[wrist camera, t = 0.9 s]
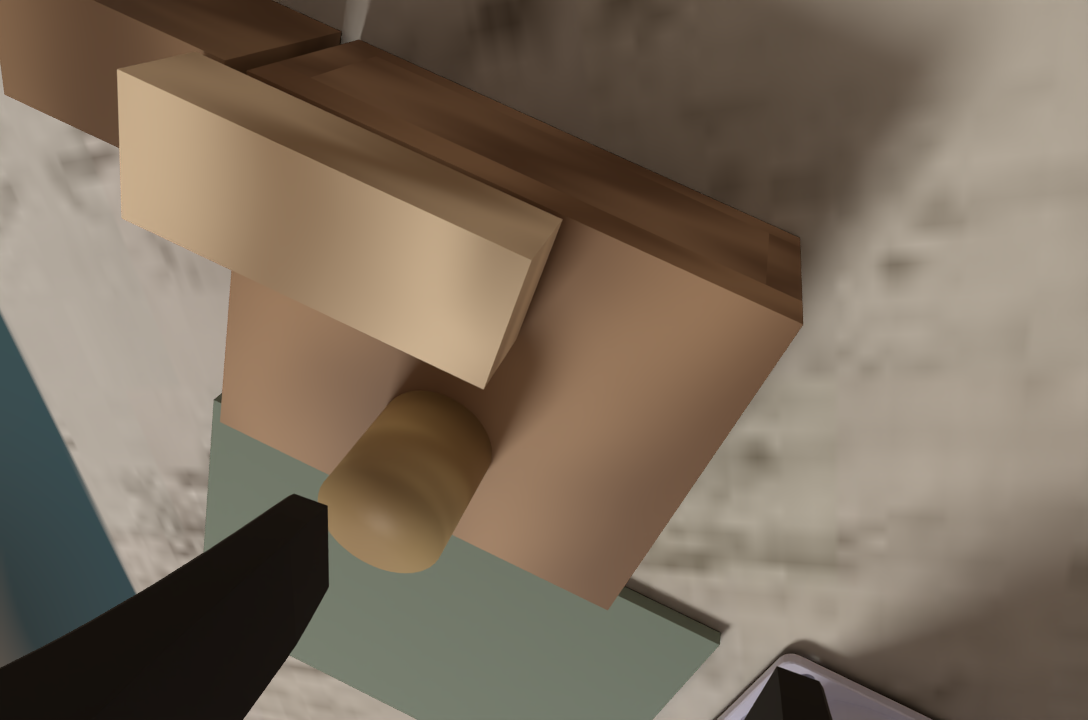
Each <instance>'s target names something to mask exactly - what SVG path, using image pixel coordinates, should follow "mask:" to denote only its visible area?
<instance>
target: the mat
mask: <svg viewBox="0 0 1088 720" xmlns="http://www.w3.org/2000/svg"><path fill="white" fill-rule="evenodd" d="M221 402H222V393H221V394H220V395H219V396H218V397H217V398H215V399H214V404H213V419H212V434H211V449H210V464H209V479H208V494H207V509H206V524H205V539H204V552H205V551H207V550H208V549H210V548H211V547H213V546H215V545H216V544H218V543H219V542H221V541H222V540H224V539H225V538H227V537H228V536H230V535H231V534H233V533H234V532H236V531H237V530H239V529H240V528H242V527H243V526H245V525H246V524H248V523H249V522H251V521H252V520H254V519H255V518H256V517H258V516H259V515H261V514H262V513H264V512H265V511H267V510H268V509H270V508H271V507H273V506H274V505H276V504H277V503H279V502H280V501H282V500H283V499H285V498H286V497H288V496H290V495H292V494H297V495H300V496H302V497H305V498H308V499H311V500H314V501H316V502H318V493H319V490H320V487H321V485H322V484H323V482H324V481H325V480H326V479H327V477H328V476H329V475H328V474H326V473H324V472H322V471H320V470H318V469H316V468H314V467H312V466H310V465H308V464H305V463H303V462H301V461H299V460H297V459H295V458H293V457H291V456H289V455H287V454H285V453H283V452H281V451H279V450H277V449H275V448H273V447H270V446H268V445H266V444H264V443H262V442H260V441H258V440H256V439H254V438H252V437H250V436H248V435H246V434H244V433H242V432H240V431H238V430H236V429H233V428H231V427H229V426H227V425H225V424H223V423H221V422H220V415H221ZM328 549H329V588H328V590H327V592H326V593H325V595H324V597H323V599H322V601H321V603H320V604H319V606H318V608H317V610H316V612H315V613H314V615H313V617H312V619H311V621H310V622H309V624H308V626H307V628H306V629H305V631H304V633H303V634H302V636H301V638H300V640H299V641H298V643H297V645H296V646H295V648H294V649H293V651H292V652H291V653H290V656H292V657H294V658H296V659H298V660H300V661H302V662H304V663H306V664H308V665H310V666H312V667H314V668H316V669H318V670H320V671H322V672H324V673H326V674H328V675H330V676H332V677H334V678H336V679H338V680H340V681H342V682H344V683H346V684H347V685H349V686H351V687H353V688H355V689H357V690H359V691H361V692H363V693H365V694H367V695H369V696H371V697H373V698H375V699H377V700H379V701H381V702H383V703H385V704H387V705H389V706H391V707H393V708H395V709H397V710H399V711H401V712H403V713H405V714H407V715H409V716H411V717H413V718H415V719H417V720H653V719H654V717H655V716H656V715H657V714H658V713H659V712H660V711H661V710H662V709H663V707H664V706H665V705H666V704H667V703H668V702H669V701H670V700H671V699H672V697H673V696H674V695H675V694H676V693H677V692H678V691H679V690H680V689H681V687H682V686H683V685H684V684H685V683H686V682H687V681H688V680H689V678H690V677H691V676H692V675H693V674H694V673H695V672H696V671H697V670H698V668H699V667H700V666H701V665H702V664H703V663H704V662H705V661H706V660H707V658H708V657H709V656H710V655H711V654H712V653H713V652H714V651H715V650H716V648H717V647H718V646H719V645H720V636H721V633H719V632H717V631H715V630H713V629H711V628H709V627H707V626H705V625H703V624H701V623H699V622H697V621H695V620H692V619H690V618H688V617H686V616H684V615H682V614H680V613H678V612H676V611H674V610H672V609H670V608H668V607H666V606H664V605H661V604H659V603H657V602H655V601H653V600H651V599H649V598H647V597H645V596H643V595H641V594H639V593H637V592H635V591H633V590H630V589H628V588H626V587H624V588H623V589H622V590H621V592H620V593H619V595H618V596H617V598H616V599H615V601H614V602H613V604H612V605H611V607H610V608H609V609H608V610H606V609H604V608H602V607H600V606H598V605H595V604H593V603H591V602H589V601H587V600H585V599H583V598H581V597H579V596H577V595H575V594H573V593H571V592H569V591H567V590H565V589H563V588H560V587H558V586H556V585H554V584H552V583H550V582H548V581H546V580H544V579H542V578H540V577H538V576H536V575H534V574H532V573H530V572H528V571H526V570H523V569H521V568H519V567H517V566H515V565H513V564H511V563H509V562H507V561H505V560H503V559H501V558H499V557H497V556H495V555H493V554H491V553H488V552H486V551H484V550H482V549H480V548H478V547H476V546H474V545H472V544H470V543H468V542H466V541H464V540H462V539H460V538H458V537H456V536H454V535H452V536H451V537H450V539H449V541H448V543H447V545H446V546H445V548H444V550H443V552H442V554H441V556H440V557H439V559H438V560H437V561H436V563H435V564H433V565H432V566H431V567H429V568H427V569H426V570H423V571H420V572H415V573H396V572H390V571H386V570H382V569H379V568H377V567H374V566H372V565H370V564H367V563H365V562H364V561H362V560H360V559H358V558H357V557H355V556H354V555H352V554H351V553H350V552H348V551H347V550H346V549H345V548H344V547H343V546H341V545H340V544H339V543H338V542H337V541H336V539H335V538H334V537H333V536H332V535H331V533H330V532H329V531H328Z"/></svg>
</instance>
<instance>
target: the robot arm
mask: <svg viewBox="0 0 1088 720" xmlns="http://www.w3.org/2000/svg"><path fill="white" fill-rule="evenodd" d="M328 588H329V549H328V505H325V504H322V503H319V502H316V501H314V500H311V499H308V498H305V497H302V496H300V495H297V494H292V495H290V496H288V497H286V498H285V499H283V500H282V501H280V502H279V503H277V504H276V505H274V506H273V507H271V508H270V509H268V510H267V511H265V512H264V513H262V514H261V515H259V516H258V517H256V518H255V519H254V520H252V521H251V522H249V523H248V524H246V525H245V526H243V527H242V528H240V529H239V530H237V531H236V532H234V533H233V534H231V535H230V536H228V537H227V538H225V539H224V540H222V541H221V542H219V543H218V544H216V545H215V546H213V547H211V548H210V549H208V550H207V551H205V552H204V553H202V554H201V555H199V556H197V557H196V558H194V559H193V560H191V561H190V562H188V563H186V564H185V565H183V566H182V567H180V568H178V569H177V570H175V571H174V572H172V573H171V574H169V575H167V576H166V577H164V578H163V579H161V580H159V581H158V582H156V583H155V584H153V585H151V586H150V587H148V588H146V589H145V590H143V591H141V592H140V593H138V594H136V595H134V596H133V597H131V598H129V599H127V600H126V601H124V602H122V603H121V604H119V605H117V606H115V607H114V608H112V609H110V610H108V611H107V612H105V613H103V614H102V615H100V616H98V617H96V618H95V619H93V620H91V621H89V622H88V623H86V624H84V625H82V626H80V627H78V628H77V629H75V630H73V631H71V632H69V633H67V634H66V635H64V636H62V637H60V638H58V639H56V640H54V641H52V642H50V643H49V644H47V645H45V646H43V647H41V648H39V649H37V650H35V651H33V652H31V653H29V654H27V655H25V656H23V657H21V658H19V659H17V660H15V661H13V662H11V663H9V664H7V665H5V666H3V667H1V668H0V720H243V719H244V718H245V716H246V715H247V713H248V712H249V711H250V709H251V708H252V706H253V705H254V704H255V702H256V701H257V700H258V698H259V697H260V695H261V694H262V693H263V691H264V690H265V689H266V687H267V686H268V684H269V683H270V682H271V680H272V679H273V677H274V676H275V675H276V673H277V672H278V670H279V669H280V668H281V666H282V665H283V663H284V662H285V661H286V659H287V658H288V656H289V655H290V653H291V652H292V651H293V649H294V648H295V646H296V645H297V643H298V641H299V640H300V638H301V636H302V634H303V633H304V631H305V629H306V628H307V626H308V624H309V622H310V621H311V619H312V617H313V615H314V613H315V612H316V610H317V608H318V606H319V604H320V603H321V601H322V599H323V597H324V595H325V593H326V592H327V590H328ZM717 720H932V719H930V718H928V717H926V716H924V715H922V714H920V713H918V712H916V711H914V710H912V709H909V708H907V707H905V706H903V705H901V704H899V703H897V702H895V701H893V700H891V699H889V698H887V697H885V696H882V695H880V694H878V693H876V692H874V691H872V690H870V689H868V688H866V687H864V686H862V685H860V684H858V683H856V682H853V681H851V680H849V679H847V678H845V677H843V676H841V675H839V674H837V673H835V672H833V671H831V670H829V669H827V668H824V667H822V666H820V665H818V664H816V663H814V662H812V661H810V660H808V659H806V658H804V657H802V656H799V655H796V654H785V655H783V656H781V657H780V658H779V659H778V660H777V661H776V662H775V663H774V664H773V665H772V666H771V667H769V668H768V669H767V670H766V671H765V672H764V673H763V674H762V675H761V676H760V677H759V678H758V679H757V680H756V681H755V682H754V683H753V684H752V685H751V686H750V687H749V688H748V689H747V690H746V691H745V692H744V693H743V694H742V695H741V696H740V697H739V698H738V699H737V700H736V701H735V702H734V703H733V704H732V705H731V706H730V707H729V708H728V709H727V710H726V711H725V712H724V713H723V714H722V715H721V716H720V717H719V718H718V719H717Z"/></svg>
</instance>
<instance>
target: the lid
mask: <svg viewBox="0 0 1088 720" xmlns="http://www.w3.org/2000/svg"><path fill="white" fill-rule="evenodd" d="M246 75H248V76H250V77H252V78H254V79H256V80H259V81H261V82H263V83H265V84H267V85H270V86H272V87H274V88H276V89H278V90H280V91H283V92H285V93H287V94H289V95H291V96H294V97H296V98H298V99H300V100H302V101H305V102H307V103H309V104H311V105H313V106H316V107H318V108H320V109H322V110H324V111H326V112H329V113H331V114H333V115H335V116H337V117H340V118H342V119H344V120H346V121H348V122H351V123H353V124H355V125H357V126H359V127H361V128H364V129H366V130H368V131H370V132H372V133H375V134H377V135H379V136H381V137H383V138H386V139H388V140H390V141H392V142H394V143H396V144H399V145H401V146H403V147H405V148H407V149H410V150H412V151H414V152H416V153H418V154H421V155H423V156H425V157H427V158H429V159H431V160H434V161H436V162H438V163H440V164H442V165H445V166H447V167H449V168H451V169H453V170H456V171H458V172H460V173H462V174H464V175H466V176H469V177H471V178H473V179H475V180H477V181H480V182H482V183H484V184H486V185H488V186H491V187H493V188H495V189H497V190H499V191H502V192H504V193H506V194H508V195H510V196H512V197H515V198H517V199H519V200H521V201H523V202H526V203H528V204H530V205H532V206H534V207H537V208H539V209H541V210H543V211H545V212H547V213H550V214H552V215H554V216H556V217H558V218H561V219H563V220H562V222H561V225H560V228H559V230H558V233H557V235H556V238H555V241H554V243H553V246H552V248H551V251H550V253H549V256H548V259H547V261H546V264H545V266H544V269H543V272H542V274H541V277H540V279H539V282H538V284H537V287H536V290H535V292H534V295H533V297H532V300H531V303H530V305H529V308H528V310H527V313H526V315H525V318H524V321H523V323H522V326H521V328H520V331H519V334H518V336H517V339H516V341H515V342H514V344H513V345H512V347H511V348H510V350H509V351H508V353H507V354H506V356H505V357H504V359H503V361H502V362H501V364H500V365H499V367H498V368H497V370H496V371H495V373H494V374H493V376H492V377H491V379H490V380H489V382H488V384H487V385H486V387H485V388H484V390H483V389H481V388H479V387H477V386H475V385H473V384H471V383H469V382H467V381H464V380H462V379H460V378H458V377H456V376H454V375H452V374H450V373H448V372H445V371H443V370H441V369H439V368H437V367H435V366H433V365H431V364H429V363H426V362H424V361H422V360H420V359H418V358H416V357H414V356H412V355H410V354H407V353H405V352H403V351H401V350H399V349H397V348H395V347H393V346H391V345H388V344H386V343H384V342H382V341H380V340H378V339H376V338H374V337H371V336H369V335H367V334H365V333H363V332H361V331H359V330H357V329H355V328H352V327H350V326H348V325H346V324H344V323H342V322H340V321H338V320H336V319H333V318H331V317H329V316H327V315H325V314H323V313H321V312H319V311H317V310H314V309H312V308H310V307H308V306H306V305H304V304H302V303H300V302H298V301H295V300H293V299H291V298H289V297H287V296H285V295H283V294H281V293H279V292H276V291H274V290H272V289H270V288H268V287H266V286H264V285H262V284H260V283H257V282H255V281H253V280H251V279H249V278H247V277H245V276H243V275H241V274H238V273H236V272H234V271H231V284H230V297H229V310H228V323H227V336H226V350H225V363H224V376H223V389H222V402H221V415H220V422H221V423H223V424H225V425H227V426H229V427H231V428H233V429H236V430H238V431H240V432H242V433H244V434H246V435H248V436H250V437H252V438H254V439H256V440H258V441H260V442H262V443H264V444H266V445H268V446H270V447H273V448H275V449H277V450H279V451H281V452H283V453H285V454H287V455H289V456H291V457H293V458H295V459H297V460H299V461H301V462H303V463H305V464H308V465H310V466H312V467H314V468H316V469H318V470H320V471H322V472H324V473H326V474H328V475H329V476H328V477H327V479H326V480H325V481H324V482H323V484H322V485H321V487H320V490H319V493H318V502H319V503H322V504H325V505H328V531H329V532H330V533H331V535H332V536H333V537H334V538H335V539H336V541H337V542H338V543H339V544H340V545H341V546H343V547H344V548H345V549H346V550H347V551H348V552H350V553H351V554H352V555H354V556H355V557H357V558H358V559H360V560H362V561H364V562H365V563H367V564H370V565H372V566H374V567H377V568H379V569H382V570H386V571H390V572H396V573H415V572H420V571H423V570H426V569H427V568H429V567H431V566H432V565H433V564H435V563H436V561H437V560H438V559H439V557H440V556H441V554H442V552H443V550H444V548H445V546H446V545H447V543H448V541H449V539H450V537H451V536H452V535H454V536H456V537H458V538H460V539H462V540H464V541H466V542H468V543H470V544H472V545H474V546H476V547H478V548H480V549H482V550H484V551H486V552H488V553H491V554H493V555H495V556H497V557H499V558H501V559H503V560H505V561H507V562H509V563H511V564H513V565H515V566H517V567H519V568H521V569H523V570H526V571H528V572H530V573H532V574H534V575H536V576H538V577H540V578H542V579H544V580H546V581H548V582H550V583H552V584H554V585H556V586H558V587H560V588H563V589H565V590H567V591H569V592H571V593H573V594H575V595H577V596H579V597H581V598H583V599H585V600H587V601H589V602H591V603H593V604H595V605H598V606H600V607H602V608H604V609H606V610H608V609H609V608H610V607H611V605H612V604H613V602H614V601H615V599H616V598H617V596H618V595H619V593H620V592H621V590H622V589H623V588H624V586H625V585H626V583H627V582H628V580H629V579H630V577H631V576H632V574H633V573H634V571H635V570H636V568H637V567H638V566H639V564H640V563H641V561H642V560H643V558H644V557H645V555H646V554H647V552H648V551H649V549H650V548H651V547H652V545H653V544H654V542H655V541H656V539H657V538H658V536H659V535H660V533H661V532H662V530H663V529H664V528H665V526H666V525H667V523H668V522H669V520H670V519H671V517H672V516H673V514H674V513H675V511H676V510H677V508H678V507H679V506H680V504H681V503H682V501H683V500H684V498H685V497H686V495H687V494H688V492H689V491H690V489H691V488H692V487H693V485H694V484H695V482H696V481H697V479H698V478H699V476H700V475H701V473H702V472H703V470H704V469H705V467H706V466H707V465H708V463H709V462H710V460H711V459H712V457H713V456H714V454H715V453H716V451H717V450H718V448H719V447H720V446H721V444H722V443H723V441H724V440H725V438H726V437H727V435H728V434H729V432H730V431H731V429H732V428H733V427H734V425H735V424H736V422H737V421H738V419H739V418H740V416H741V415H742V413H743V412H744V410H745V409H746V407H747V406H748V405H749V403H750V402H751V400H752V399H753V397H754V396H755V394H756V393H757V391H758V390H759V388H760V387H761V386H762V384H763V383H764V381H765V380H766V378H767V377H768V375H769V374H770V372H771V371H772V369H773V368H774V366H775V365H776V364H777V362H778V361H779V359H780V358H781V356H782V355H783V353H784V352H785V350H786V349H787V347H788V346H789V345H790V343H791V342H792V340H793V339H794V337H795V336H796V334H797V333H798V331H799V330H800V328H801V327H802V326H803V305H802V301H800V300H798V299H796V298H794V297H791V296H789V295H787V294H785V293H783V292H781V291H778V290H776V289H774V288H772V287H770V286H767V285H765V284H763V283H761V282H759V281H756V280H754V279H752V278H750V277H748V276H745V275H743V274H741V273H739V272H737V271H734V270H732V269H730V268H728V267H726V266H723V265H721V264H719V263H717V262H715V261H712V260H710V259H708V258H706V257H704V256H701V255H699V254H697V253H695V252H693V251H690V250H688V249H686V248H684V247H682V246H679V245H677V244H675V243H673V242H671V241H668V240H666V239H664V238H662V237H660V236H657V235H655V234H653V233H651V232H649V231H646V230H644V229H642V228H640V227H638V226H635V225H633V224H631V223H629V222H627V221H624V220H622V219H620V218H618V217H616V216H613V215H611V214H609V213H607V212H605V211H602V210H600V209H598V208H596V207H594V206H591V205H589V204H587V203H585V202H583V201H580V200H578V199H576V198H574V197H572V196H569V195H567V194H565V193H563V192H561V191H558V190H556V189H554V188H552V187H550V186H547V185H545V184H543V183H541V182H539V181H536V180H534V179H532V178H530V177H528V176H525V175H523V174H521V173H519V172H517V171H514V170H512V169H510V168H508V167H506V166H503V165H501V164H499V163H497V162H495V161H493V160H490V159H488V158H486V157H484V156H482V155H479V154H477V153H475V152H473V151H471V150H468V149H466V148H464V147H462V146H460V145H457V144H455V143H453V142H451V141H449V140H446V139H444V138H442V137H440V136H438V135H435V134H433V133H431V132H429V131H427V130H424V129H422V128H420V127H418V126H416V125H413V124H411V123H409V122H407V121H405V120H402V119H400V118H398V117H396V116H394V115H391V114H389V113H387V112H385V111H383V110H380V109H378V108H376V107H374V106H372V105H369V104H367V103H365V102H363V101H361V100H358V99H356V98H354V97H352V96H350V95H347V94H345V93H343V92H341V91H339V90H336V89H334V88H332V87H330V86H328V85H325V84H323V83H321V82H319V81H317V80H314V79H312V78H310V77H308V76H306V75H303V74H301V73H299V72H297V71H295V70H292V69H290V68H288V67H286V66H284V65H281V64H279V63H277V62H276V63H272V64H268V65H265V66H261V67H257V68H254V69H250V70H247V74H246Z"/></svg>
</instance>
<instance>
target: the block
mask: <svg viewBox="0 0 1088 720" xmlns="http://www.w3.org/2000/svg"><path fill="white" fill-rule="evenodd" d="M117 87H118V118H119V150H120V181H121V213H122V219H124V220H126V221H129V222H131V223H133V224H135V225H137V226H139V227H141V228H143V229H145V230H148V231H150V232H152V233H154V234H156V235H158V236H160V237H162V238H164V239H167V240H169V241H171V242H173V243H175V244H177V245H179V246H181V247H184V248H186V249H188V250H190V251H192V252H194V253H196V254H198V255H200V256H203V257H205V258H207V259H209V260H211V261H213V262H215V263H217V264H219V265H222V266H224V267H226V268H228V269H230V270H232V271H234V272H236V273H238V274H241V275H243V276H245V277H247V278H249V279H251V280H253V281H255V282H257V283H260V284H262V285H264V286H266V287H268V288H270V289H272V290H274V291H276V292H279V293H281V294H283V295H285V296H287V297H289V298H291V299H293V300H295V301H298V302H300V303H302V304H304V305H306V306H308V307H310V308H312V309H314V310H317V311H319V312H321V313H323V314H325V315H327V316H329V317H331V318H333V319H336V320H338V321H340V322H342V323H344V324H346V325H348V326H350V327H352V328H355V329H357V330H359V331H361V332H363V333H365V334H367V335H369V336H371V337H374V338H376V339H378V340H380V341H382V342H384V343H386V344H388V345H391V346H393V347H395V348H397V349H399V350H401V351H403V352H405V353H407V354H410V355H412V356H414V357H416V358H418V359H420V360H422V361H424V362H426V363H429V364H431V365H433V366H435V367H437V368H439V369H441V370H443V371H445V372H448V373H450V374H452V375H454V376H456V377H458V378H460V379H462V380H464V381H467V382H469V383H471V384H473V385H475V386H477V387H479V388H481V389H483V390H484V388H485V387H486V385H487V384H488V382H489V380H490V379H491V377H492V376H493V374H494V373H495V371H496V370H497V368H498V367H499V365H500V364H501V362H502V361H503V359H504V357H505V356H506V354H507V353H508V351H509V350H510V348H511V347H512V345H513V344H514V342H515V341H516V339H517V336H518V334H519V331H520V328H521V326H522V323H523V321H524V318H525V315H526V313H527V310H528V308H529V305H530V303H531V300H532V297H533V295H534V292H535V290H536V287H537V284H538V282H539V279H540V277H541V274H542V272H543V269H544V266H545V264H546V261H547V259H548V256H549V253H550V251H551V248H552V246H553V243H554V241H555V238H556V235H557V233H558V230H559V228H560V225H561V222H562V220H563V219H561V218H558V217H556V216H554V215H552V214H550V213H547V212H545V211H543V210H541V209H539V208H537V207H534V206H532V205H530V204H528V203H526V202H523V201H521V200H519V199H517V198H515V197H512V196H510V195H508V194H506V193H504V192H502V191H499V190H497V189H495V188H493V187H491V186H488V185H486V184H484V183H482V182H480V181H477V180H475V179H473V178H471V177H469V176H466V175H464V174H462V173H460V172H458V171H456V170H453V169H451V168H449V167H447V166H445V165H442V164H440V163H438V162H436V161H434V160H431V159H429V158H427V157H425V156H423V155H421V154H418V153H416V152H414V151H412V150H410V149H407V148H405V147H403V146H401V145H399V144H396V143H394V142H392V141H390V140H388V139H386V138H383V137H381V136H379V135H377V134H375V133H372V132H370V131H368V130H366V129H364V128H361V127H359V126H357V125H355V124H353V123H351V122H348V121H346V120H344V119H342V118H340V117H337V116H335V115H333V114H331V113H329V112H326V111H324V110H322V109H320V108H318V107H316V106H313V105H311V104H309V103H307V102H305V101H302V100H300V99H298V98H296V97H294V96H291V95H289V94H287V93H285V92H283V91H280V90H278V89H276V88H274V87H272V86H270V85H267V84H265V83H263V82H261V81H259V80H256V79H254V78H252V77H250V76H248V75H245V74H243V73H241V72H239V71H237V70H235V69H232V68H230V67H228V66H226V65H224V64H221V63H219V62H217V61H215V60H213V59H210V58H208V57H206V56H204V55H202V54H200V53H197V52H192V53H188V54H183V55H178V56H174V57H169V58H165V59H160V60H156V61H151V62H146V63H142V64H137V65H133V66H128V67H124V68H119V69H117Z"/></svg>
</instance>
